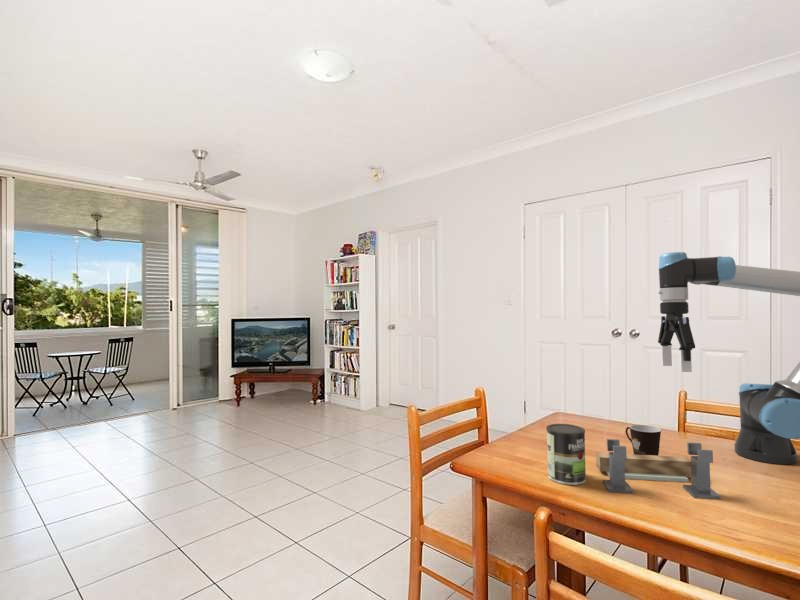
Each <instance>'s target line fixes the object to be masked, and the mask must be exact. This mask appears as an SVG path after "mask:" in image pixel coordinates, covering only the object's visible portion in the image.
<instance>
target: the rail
mask: <svg viewBox="0 0 800 600" xmlns="http://www.w3.org/2000/svg"><path fill="white" fill-rule="evenodd" d="M595 456H596V457H595V458H596V459H595V460H596V467H597V469H598V470H599V472H604V473H606V472H609V452H596V454H595ZM626 458H627V459H624V460H625V473H641V474H659V475H677V476H686V477H691V459H689V458H688V457H686V456H674V455H673V456H672V455H671V456H669V455H658V456H655V455H634V453H633V454H632V453H630V454H629V453H626Z"/></svg>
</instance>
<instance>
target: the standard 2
mask: <svg viewBox="0 0 800 600" xmlns="http://www.w3.org/2000/svg"><path fill="white" fill-rule="evenodd" d="M686 445H687V455H689V456H690V461H691V476H690V477H691V484H682V489H683V490H685V491H686V492H687V493H688V494H689V495H690V496H691V497H692V498H695V499H709V500H710V499H711V500H721V498H722V497H721V495H720V494H719V493H717V492H716V491H715V490H714V489H713V488H711V467H710V466H711V465H710V464H713V463H714V453H713V452H714V451H713V450H712V449H702V448H703V447H702V443H700V442H687V444H686Z"/></svg>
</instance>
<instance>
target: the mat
mask: <svg viewBox="0 0 800 600" xmlns="http://www.w3.org/2000/svg"><path fill="white" fill-rule="evenodd" d="M605 473H606V474H607V476H608V477H609V478H610V474H609V472H605ZM626 479H628V480H641V481H642V480H645V481H659V482H677V483H678V482H679V483H689V478H688V476H677V475H659V474H641V473H625V480H626Z"/></svg>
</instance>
